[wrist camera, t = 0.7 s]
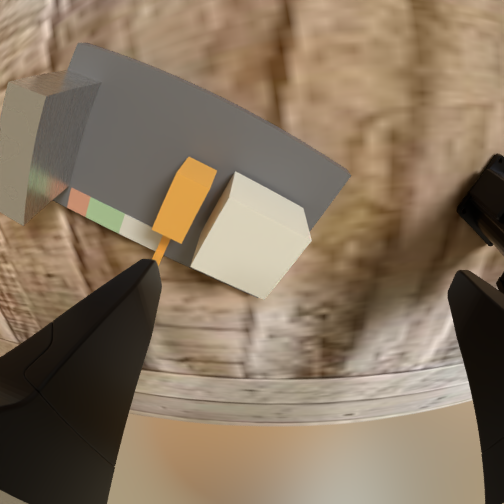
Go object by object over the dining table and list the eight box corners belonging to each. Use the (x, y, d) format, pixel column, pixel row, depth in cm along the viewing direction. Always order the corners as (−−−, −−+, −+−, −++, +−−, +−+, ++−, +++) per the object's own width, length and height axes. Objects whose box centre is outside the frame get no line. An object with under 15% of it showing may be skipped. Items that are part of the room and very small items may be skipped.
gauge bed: (346, 169, 20) (381, 219, 14) (258, 288, 26) (256, 358, 20) (87, 42, 15) (19, 45, 9) (45, 186, 21) (-9, 231, 15)
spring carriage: (303, 208, 20) (311, 240, 17) (264, 262, 23) (264, 299, 19) (235, 171, 19) (229, 197, 15) (201, 231, 21) (190, 266, 18)
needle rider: (217, 170, 19) (208, 192, 16) (172, 256, 23) (160, 287, 20) (188, 156, 18) (174, 175, 15) (148, 245, 22) (133, 274, 19)
